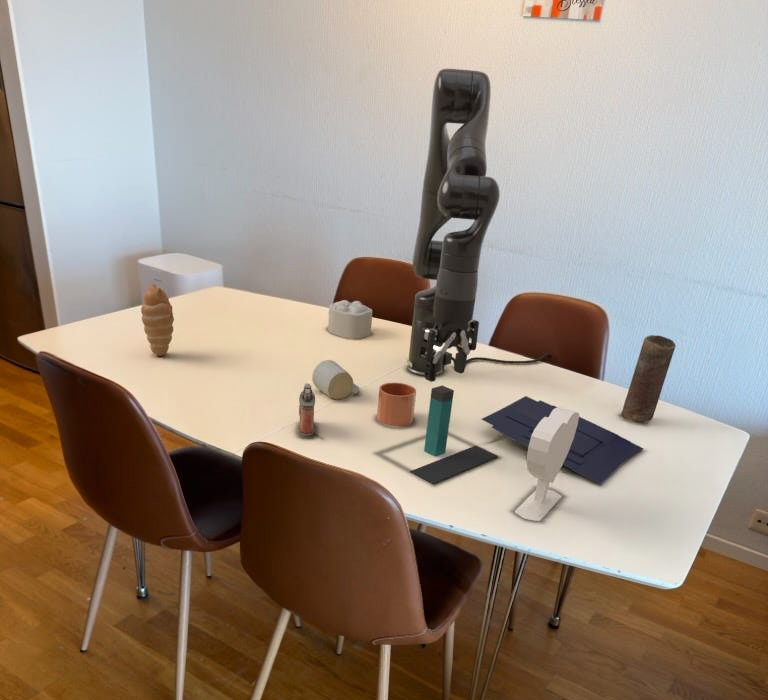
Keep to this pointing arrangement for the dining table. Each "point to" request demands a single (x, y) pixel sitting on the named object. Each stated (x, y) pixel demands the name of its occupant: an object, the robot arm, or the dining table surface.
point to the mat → (454, 464)
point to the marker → (438, 420)
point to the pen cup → (396, 404)
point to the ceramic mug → (333, 380)
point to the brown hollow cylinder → (648, 378)
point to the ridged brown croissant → (157, 320)
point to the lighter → (306, 412)
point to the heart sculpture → (547, 460)
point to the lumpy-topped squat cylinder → (350, 319)
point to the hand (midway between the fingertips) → (444, 376)
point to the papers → (588, 449)
